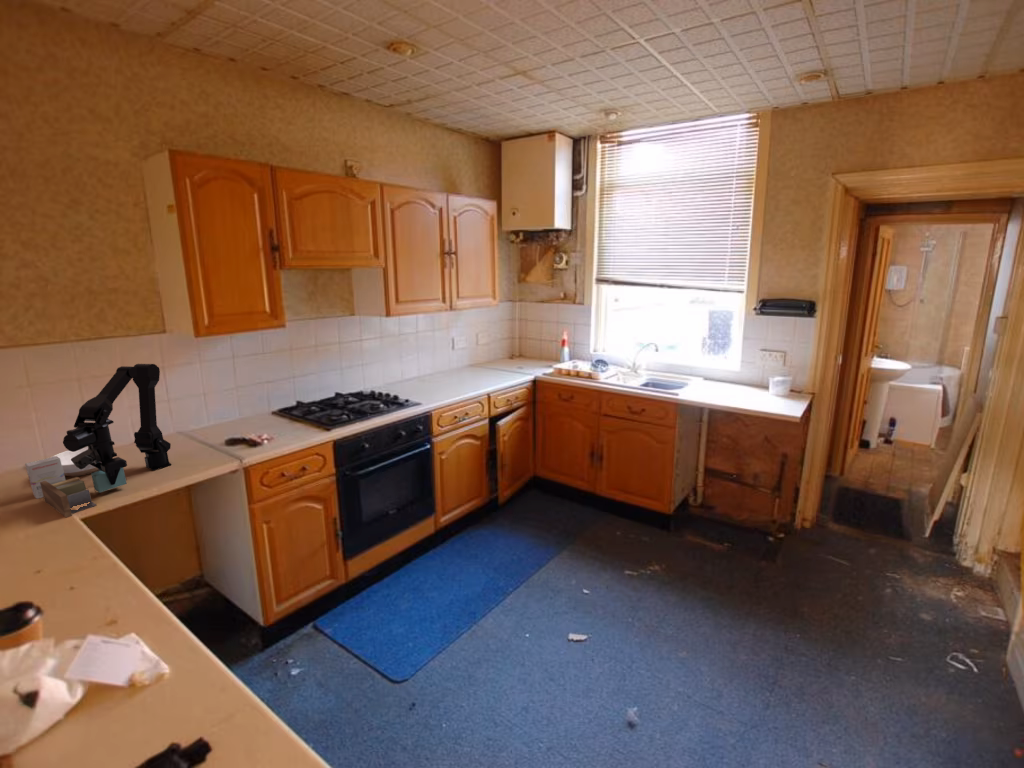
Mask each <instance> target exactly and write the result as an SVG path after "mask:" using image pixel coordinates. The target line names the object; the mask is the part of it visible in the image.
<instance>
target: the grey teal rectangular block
mask: <svg viewBox="0 0 1024 768" xmlns="http://www.w3.org/2000/svg"><path fill="white" fill-rule="evenodd" d="M90 475H91V480H92V483H93V488H94V491H96V492H98V493H103V492H106V491H108V490H109V491H110V490H111V489H115V488H118V487H121V486H125V485H127V483H128V482H127V478H126V473H125V470H124V467H123V468H121V469H120V471H119V474H118V477H117V479H116V482H115V484H114V485H111V484H110V482H109V480H108V478H107V475H106V473H105V472H103V471H99V470H98V471H95V472H93V473H90Z"/></svg>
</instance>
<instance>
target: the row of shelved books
mask: <svg viewBox="0 0 1024 768" xmlns="http://www.w3.org/2000/svg"><path fill="white" fill-rule="evenodd" d="M51 485H53V486H54V487H56V488H57V489H59V490H60V491H62V492H63V493H64V494H66V495H67V496H68V495H71V494H75V493H78V492H81V491H84V490H87V488H86V483H85V481H84V480H81V478H80V477H79V476H74V477H72V478H69V479H65V481H62V482H58V483H55V484H51Z"/></svg>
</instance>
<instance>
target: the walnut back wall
mask: <svg viewBox="0 0 1024 768" xmlns="http://www.w3.org/2000/svg"><path fill="white" fill-rule="evenodd" d="M40 485H41V488H42V492H43V496H44V497H43V499H44V503H46V504H47V505H48V506H50V508H51V507H52V508H53V509H54V510H56V512H58V514H60V515H62V516H63V517H65V518H69V517H72V516H73V514H71V510H70V506H69V502H68V498H67V495H66V494H64V493H63V492H62V491H60V490H59V489H57V488H56V487H54V486H53V485H51V484H50V483H48V482H47V481H43V482H40Z"/></svg>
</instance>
